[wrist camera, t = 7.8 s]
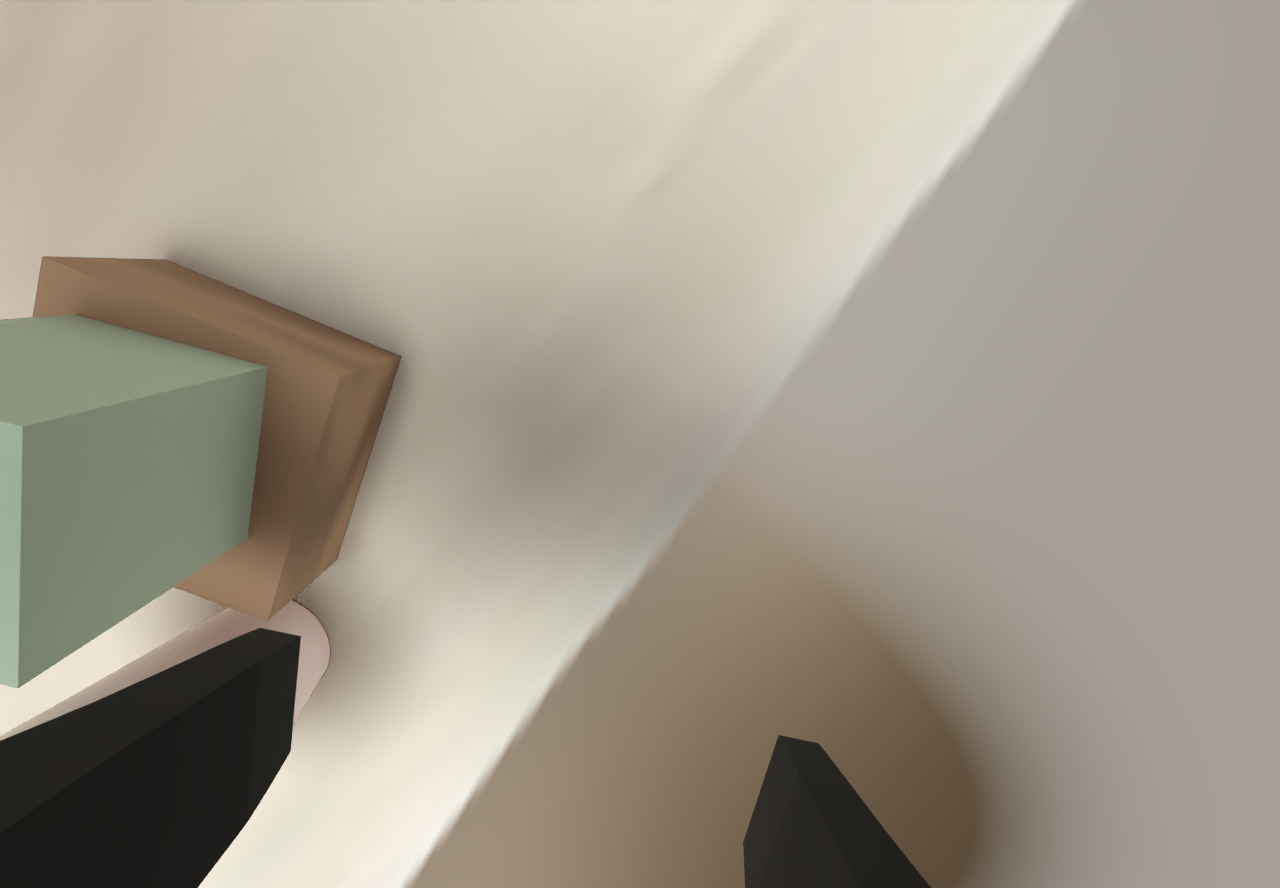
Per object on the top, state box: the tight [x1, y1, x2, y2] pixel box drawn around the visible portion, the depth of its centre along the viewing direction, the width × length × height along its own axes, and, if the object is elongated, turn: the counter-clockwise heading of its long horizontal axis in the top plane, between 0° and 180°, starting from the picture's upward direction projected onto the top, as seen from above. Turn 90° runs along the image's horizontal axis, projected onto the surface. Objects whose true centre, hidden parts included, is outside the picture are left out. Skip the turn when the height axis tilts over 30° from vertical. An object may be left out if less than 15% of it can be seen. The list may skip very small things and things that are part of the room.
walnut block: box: [33, 257, 401, 622], centre depth 17 cm, size 7×7×4 cm
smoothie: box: [0, 600, 330, 741], centre depth 14 cm, size 6×6×14 cm
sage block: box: [0, 314, 268, 688], centre depth 12 cm, size 4×4×6 cm
